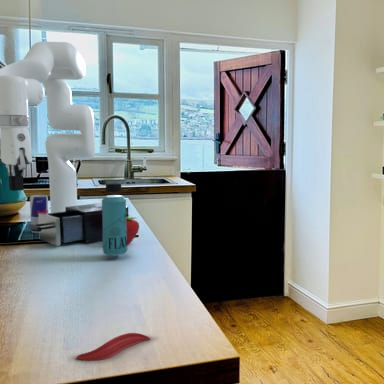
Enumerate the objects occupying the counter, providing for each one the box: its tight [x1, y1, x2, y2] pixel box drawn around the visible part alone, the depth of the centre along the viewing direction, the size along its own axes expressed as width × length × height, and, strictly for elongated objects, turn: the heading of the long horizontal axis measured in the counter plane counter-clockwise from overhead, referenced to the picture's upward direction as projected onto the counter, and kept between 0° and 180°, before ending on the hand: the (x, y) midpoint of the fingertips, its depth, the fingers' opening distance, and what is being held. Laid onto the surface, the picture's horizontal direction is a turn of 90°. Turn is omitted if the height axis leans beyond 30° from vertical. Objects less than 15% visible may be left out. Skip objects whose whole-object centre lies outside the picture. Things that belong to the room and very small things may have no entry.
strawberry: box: [126, 211, 140, 246], centre depth 141 cm, size 6×8×10 cm
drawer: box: [27, 211, 85, 246], centre depth 142 cm, size 18×11×8 cm, turn 136°
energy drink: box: [29, 194, 49, 235], centre depth 156 cm, size 5×5×12 cm
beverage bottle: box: [101, 182, 128, 256], centre depth 126 cm, size 6×7×20 cm
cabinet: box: [65, 202, 129, 245], centre depth 151 cm, size 15×13×10 cm
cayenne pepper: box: [75, 332, 151, 361], centre depth 75 cm, size 12×5×2 cm, turn 120°
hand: (16, 190), depth 131 cm, fingers closed
